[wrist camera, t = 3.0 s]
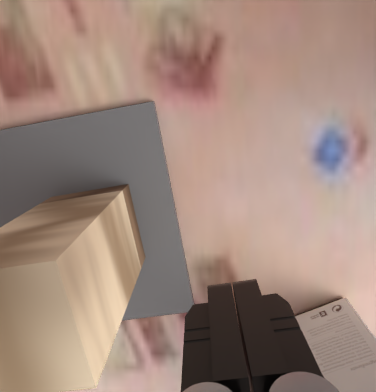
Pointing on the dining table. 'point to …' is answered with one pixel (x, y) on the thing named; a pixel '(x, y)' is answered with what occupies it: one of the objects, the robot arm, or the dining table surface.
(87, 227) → the birch block
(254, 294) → the robot arm
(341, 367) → the skincare box
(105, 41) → the dining table surface
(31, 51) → the dining table surface
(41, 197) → the mat
